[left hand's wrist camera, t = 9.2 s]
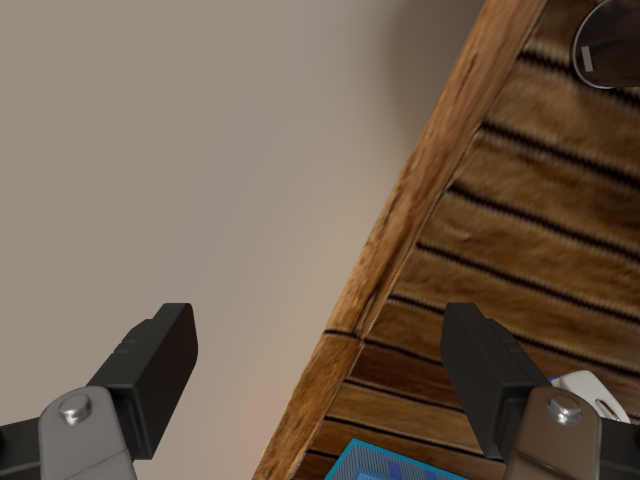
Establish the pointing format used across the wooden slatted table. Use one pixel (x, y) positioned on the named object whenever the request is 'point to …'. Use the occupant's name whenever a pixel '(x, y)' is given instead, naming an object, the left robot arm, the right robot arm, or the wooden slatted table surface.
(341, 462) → the model building
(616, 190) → the wooden slatted table surface
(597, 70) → the left robot arm
